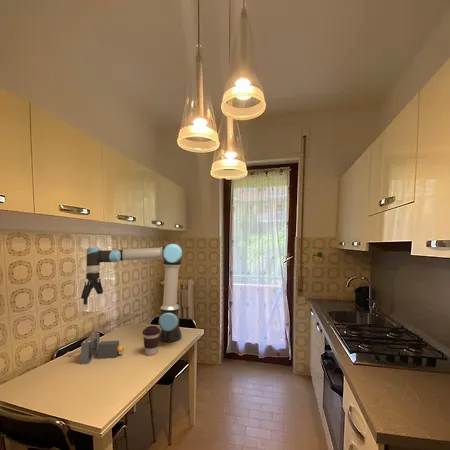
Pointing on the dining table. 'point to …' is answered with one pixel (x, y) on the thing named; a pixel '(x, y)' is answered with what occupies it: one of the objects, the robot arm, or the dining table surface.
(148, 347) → the coffee cup
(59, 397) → the dining table surface
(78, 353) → the pad
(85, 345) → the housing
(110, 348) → the plug
